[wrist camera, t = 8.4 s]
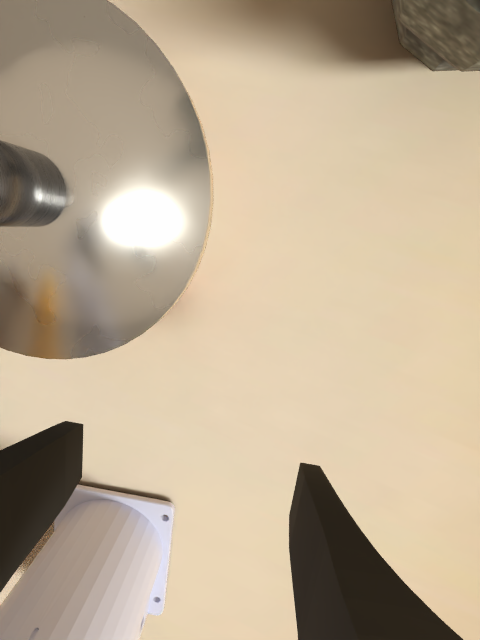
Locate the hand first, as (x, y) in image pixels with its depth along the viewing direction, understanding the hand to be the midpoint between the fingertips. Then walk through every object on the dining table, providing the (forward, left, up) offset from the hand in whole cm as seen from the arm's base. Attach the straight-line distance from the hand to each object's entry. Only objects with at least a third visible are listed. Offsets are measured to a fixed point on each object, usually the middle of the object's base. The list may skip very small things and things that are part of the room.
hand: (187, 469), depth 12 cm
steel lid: (+8, +8, -5) cm, 12 cm away
